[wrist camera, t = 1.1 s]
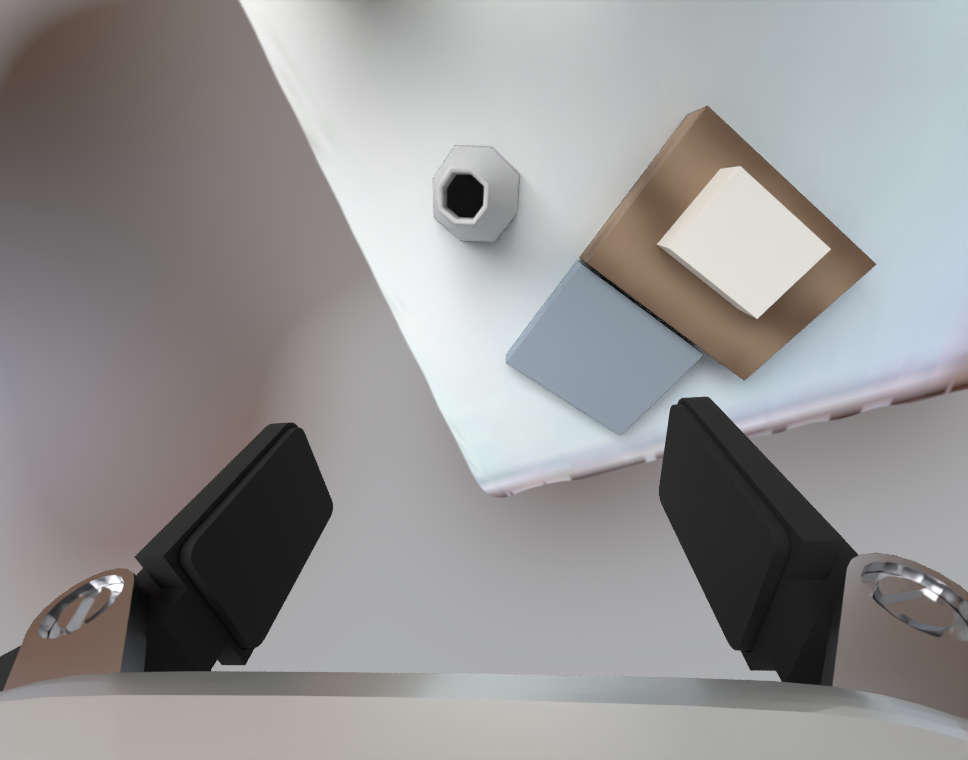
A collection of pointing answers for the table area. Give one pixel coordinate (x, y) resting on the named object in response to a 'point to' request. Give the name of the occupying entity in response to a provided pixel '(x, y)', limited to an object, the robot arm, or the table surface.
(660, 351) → the mat
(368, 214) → the table surface
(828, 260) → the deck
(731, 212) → the tile
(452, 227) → the flask
